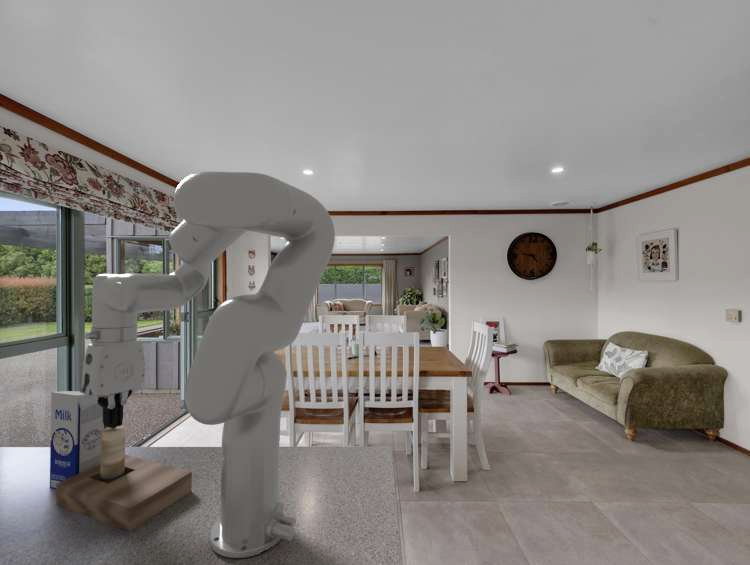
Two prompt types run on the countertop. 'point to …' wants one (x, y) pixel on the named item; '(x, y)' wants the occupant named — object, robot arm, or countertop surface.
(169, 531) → the countertop surface
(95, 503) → the walnut board
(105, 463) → the maple peg
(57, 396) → the milk carton
